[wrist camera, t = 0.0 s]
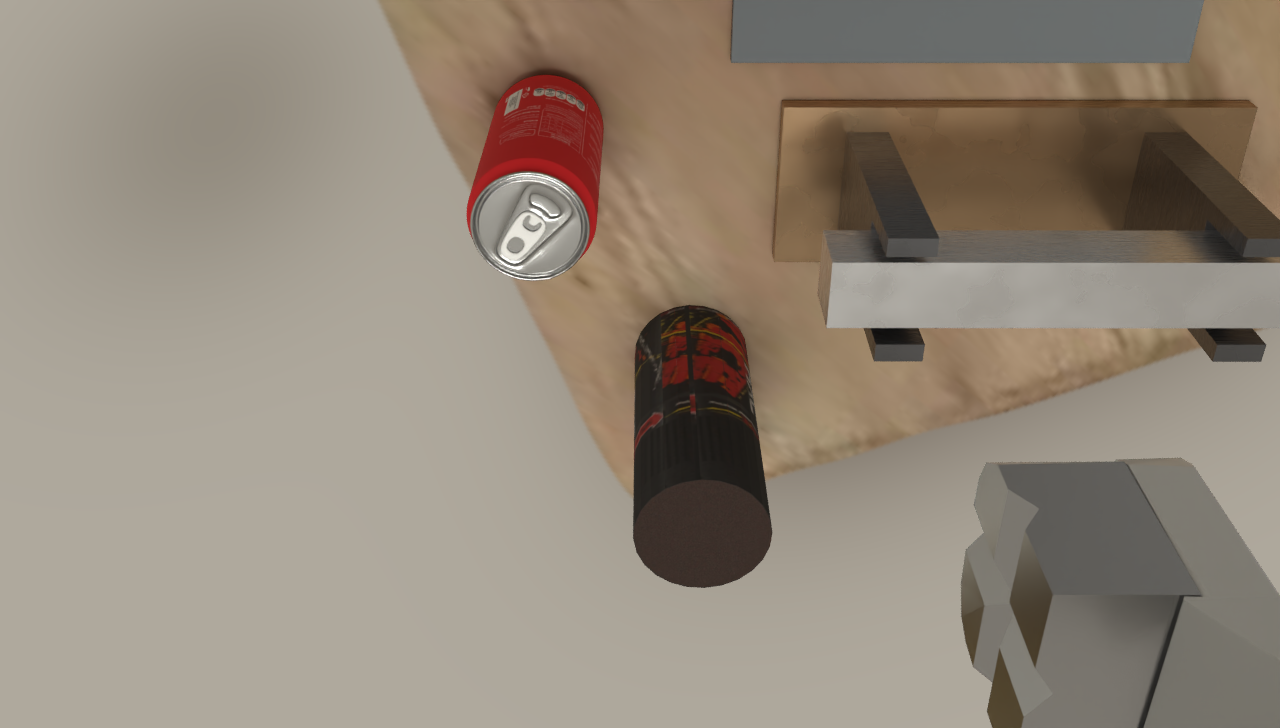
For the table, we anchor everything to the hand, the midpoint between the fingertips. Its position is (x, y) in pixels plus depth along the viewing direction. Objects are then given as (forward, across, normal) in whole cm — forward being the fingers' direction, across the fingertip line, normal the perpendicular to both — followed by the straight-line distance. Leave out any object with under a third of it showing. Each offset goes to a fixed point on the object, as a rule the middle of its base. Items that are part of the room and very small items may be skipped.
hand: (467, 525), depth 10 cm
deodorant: (+48, -4, +27) cm, 56 cm away
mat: (+48, -16, +8) cm, 51 cm away
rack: (+48, -19, +17) cm, 54 cm away
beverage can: (+48, +3, +14) cm, 50 cm away
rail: (+39, -19, +17) cm, 47 cm away
